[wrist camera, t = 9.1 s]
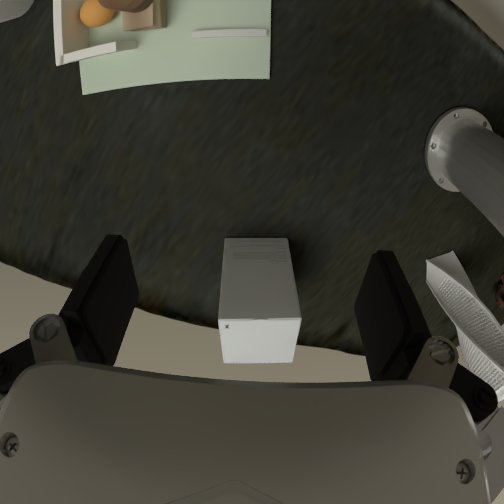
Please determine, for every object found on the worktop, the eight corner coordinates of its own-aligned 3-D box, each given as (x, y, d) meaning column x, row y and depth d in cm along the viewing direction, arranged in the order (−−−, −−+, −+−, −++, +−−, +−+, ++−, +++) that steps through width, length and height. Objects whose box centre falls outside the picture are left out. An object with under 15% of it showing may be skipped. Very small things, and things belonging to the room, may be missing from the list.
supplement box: (226, 283, 50) (220, 364, 38) (224, 236, 44) (215, 319, 32) (284, 284, 50) (293, 364, 38) (289, 237, 44) (302, 319, 33)
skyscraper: (459, 243, 45) (542, 380, 23) (456, 274, 49) (523, 403, 27) (421, 256, 47) (494, 407, 24) (420, 287, 51) (479, 426, 29)
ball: (74, 1, 21) (105, -2, 24) (74, 32, 24) (105, 27, 26) (88, -8, 19) (122, -11, 22) (88, 26, 22) (122, 21, 24)
